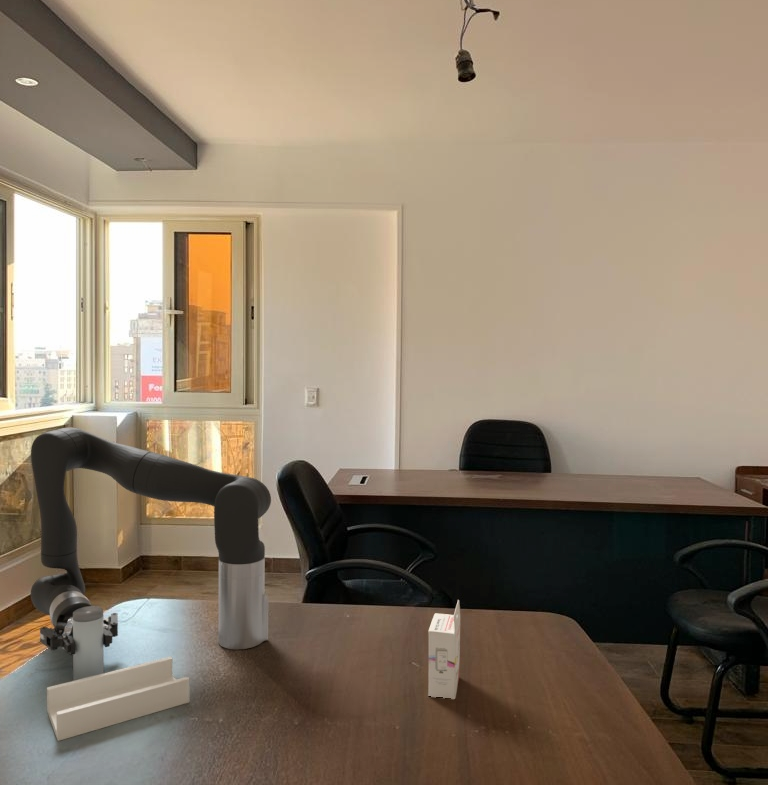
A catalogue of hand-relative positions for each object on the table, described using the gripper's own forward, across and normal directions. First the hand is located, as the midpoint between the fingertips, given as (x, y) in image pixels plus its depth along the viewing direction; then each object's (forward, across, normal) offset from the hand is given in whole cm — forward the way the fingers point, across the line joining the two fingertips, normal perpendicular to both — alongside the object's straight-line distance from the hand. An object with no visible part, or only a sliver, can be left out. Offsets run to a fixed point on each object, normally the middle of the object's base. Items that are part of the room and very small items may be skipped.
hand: (90, 645), depth 115 cm
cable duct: (+12, +2, +6) cm, 14 cm away
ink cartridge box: (+37, +51, +7) cm, 63 cm away
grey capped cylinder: (-2, 0, +6) cm, 7 cm away
